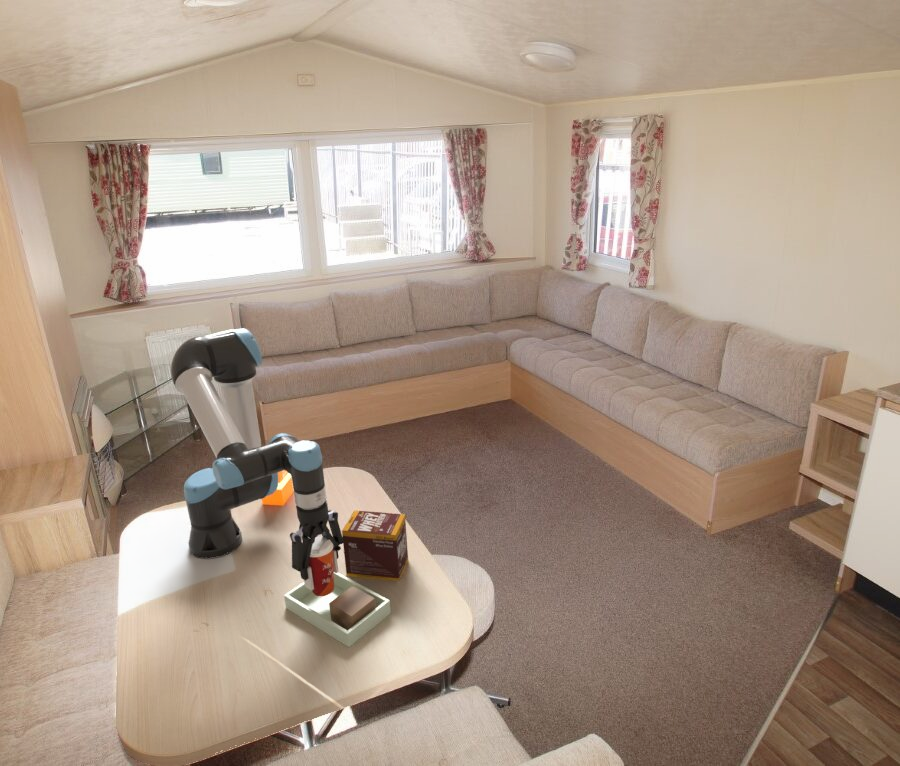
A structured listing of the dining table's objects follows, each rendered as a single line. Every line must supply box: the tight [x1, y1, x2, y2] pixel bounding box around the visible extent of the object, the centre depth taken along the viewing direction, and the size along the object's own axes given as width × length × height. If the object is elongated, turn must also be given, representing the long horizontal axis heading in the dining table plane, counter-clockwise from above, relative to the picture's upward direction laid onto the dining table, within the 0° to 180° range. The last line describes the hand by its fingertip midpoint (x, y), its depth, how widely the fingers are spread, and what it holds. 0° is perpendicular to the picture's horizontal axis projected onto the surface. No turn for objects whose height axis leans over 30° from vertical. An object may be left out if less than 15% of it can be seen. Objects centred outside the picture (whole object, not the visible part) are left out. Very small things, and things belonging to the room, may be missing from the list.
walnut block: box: [329, 586, 376, 631], centre depth 166 cm, size 8×8×6 cm
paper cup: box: [308, 535, 334, 596], centre depth 169 cm, size 8×8×14 cm
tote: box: [283, 572, 392, 648], centre depth 170 cm, size 24×15×5 cm, turn 52°
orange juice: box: [261, 470, 294, 506], centre depth 221 cm, size 8×9×20 cm
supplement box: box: [341, 510, 409, 582], centre depth 184 cm, size 10×15×16 cm
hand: (321, 579), depth 170 cm, fingers closed on paper cup, 8 cm apart
